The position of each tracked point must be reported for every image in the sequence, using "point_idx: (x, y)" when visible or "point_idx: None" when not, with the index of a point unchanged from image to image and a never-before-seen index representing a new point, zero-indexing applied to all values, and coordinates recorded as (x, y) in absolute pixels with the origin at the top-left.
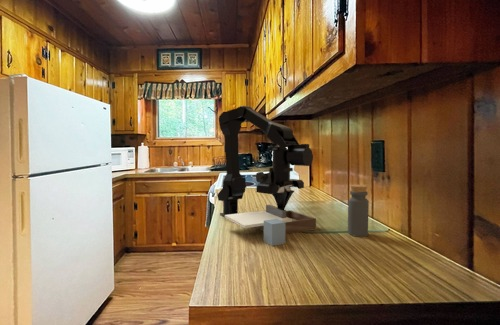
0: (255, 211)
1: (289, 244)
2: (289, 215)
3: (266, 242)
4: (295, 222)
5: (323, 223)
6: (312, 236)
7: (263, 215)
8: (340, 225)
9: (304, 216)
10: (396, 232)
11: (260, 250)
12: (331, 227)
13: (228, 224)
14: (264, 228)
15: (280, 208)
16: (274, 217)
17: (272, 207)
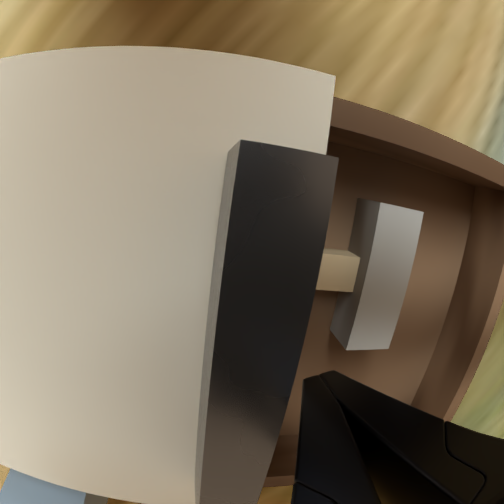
0: (113, 46)
1: (120, 500)
2: (484, 186)
3: None
4: (278, 480)
5: (498, 344)
6: (285, 487)
7: (67, 320)
8: (496, 393)
9: (457, 379)
10: None
11: (3, 468)
12: (460, 409)
13: (2, 15)
14: (9, 482)
15: (252, 492)
16: (141, 440)
17: (208, 398)
